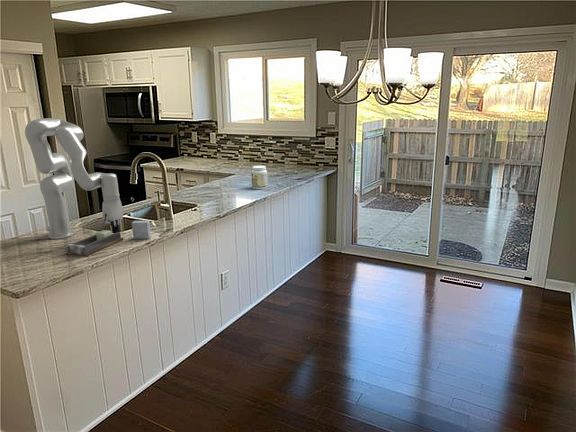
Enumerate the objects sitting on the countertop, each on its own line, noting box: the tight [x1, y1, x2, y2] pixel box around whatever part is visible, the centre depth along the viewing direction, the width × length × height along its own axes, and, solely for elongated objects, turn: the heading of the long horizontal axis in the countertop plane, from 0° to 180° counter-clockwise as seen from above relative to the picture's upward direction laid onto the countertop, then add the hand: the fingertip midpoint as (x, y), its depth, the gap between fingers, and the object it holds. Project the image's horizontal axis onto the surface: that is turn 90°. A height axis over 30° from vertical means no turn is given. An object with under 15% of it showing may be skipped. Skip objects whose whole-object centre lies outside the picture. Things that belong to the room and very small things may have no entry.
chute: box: [65, 231, 124, 257], centre depth 202 cm, size 12×24×5 cm, turn 160°
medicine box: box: [131, 220, 152, 240], centre depth 213 cm, size 8×4×9 cm, turn 92°
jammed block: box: [95, 229, 113, 240], centre depth 207 cm, size 5×5×4 cm
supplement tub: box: [250, 165, 268, 190], centre depth 326 cm, size 12×12×17 cm
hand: (116, 232), depth 215 cm, fingers closed
